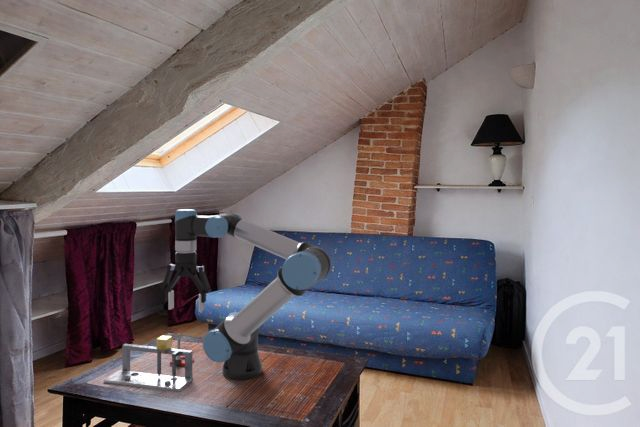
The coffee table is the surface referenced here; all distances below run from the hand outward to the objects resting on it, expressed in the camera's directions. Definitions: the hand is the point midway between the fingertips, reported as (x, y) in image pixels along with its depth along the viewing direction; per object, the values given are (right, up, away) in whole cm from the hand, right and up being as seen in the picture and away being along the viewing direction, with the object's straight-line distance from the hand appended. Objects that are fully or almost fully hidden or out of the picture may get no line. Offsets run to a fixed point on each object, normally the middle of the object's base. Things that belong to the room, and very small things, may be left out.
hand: (186, 310), depth 172 cm
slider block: (-10, -24, +3) cm, 26 cm away
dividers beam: (-13, -26, +3) cm, 29 cm away
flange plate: (-14, -26, -1) cm, 29 cm away
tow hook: (-7, -25, +17) cm, 31 cm away
